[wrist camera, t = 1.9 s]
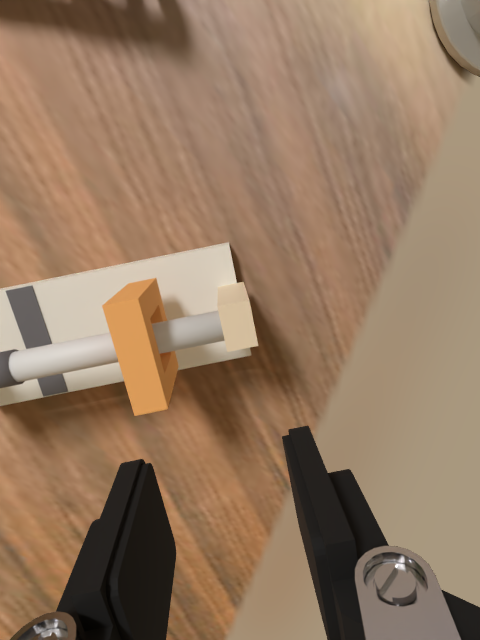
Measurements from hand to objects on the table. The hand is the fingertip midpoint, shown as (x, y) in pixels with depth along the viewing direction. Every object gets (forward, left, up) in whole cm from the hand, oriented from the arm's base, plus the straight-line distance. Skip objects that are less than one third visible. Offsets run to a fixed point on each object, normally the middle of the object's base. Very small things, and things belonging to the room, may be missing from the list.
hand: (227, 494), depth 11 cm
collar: (+5, 0, -20) cm, 20 cm away
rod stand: (+10, 0, -23) cm, 25 cm away
